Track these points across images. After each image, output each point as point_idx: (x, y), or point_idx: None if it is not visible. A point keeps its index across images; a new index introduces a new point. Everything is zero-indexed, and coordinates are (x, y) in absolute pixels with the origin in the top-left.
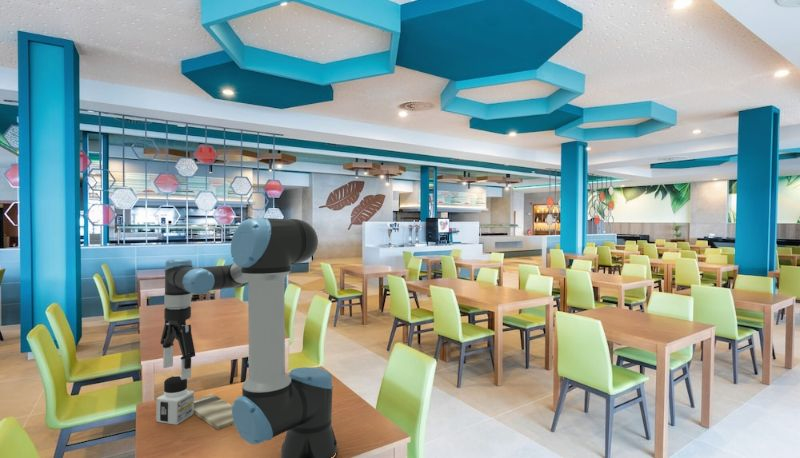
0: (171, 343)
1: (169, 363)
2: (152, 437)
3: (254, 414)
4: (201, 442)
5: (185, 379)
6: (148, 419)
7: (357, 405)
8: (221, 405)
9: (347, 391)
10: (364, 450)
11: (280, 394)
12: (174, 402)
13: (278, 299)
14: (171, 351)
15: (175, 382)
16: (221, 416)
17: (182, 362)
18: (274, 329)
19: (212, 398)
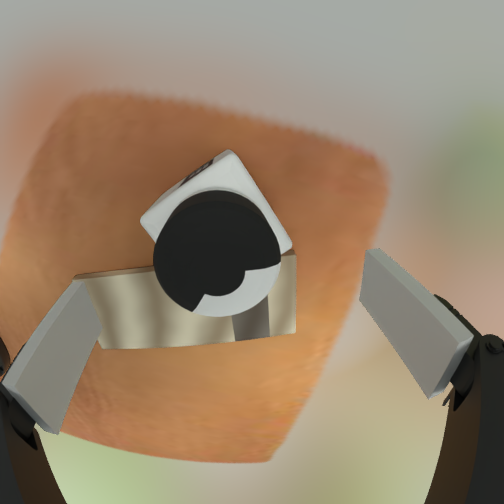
0: (451, 415)
1: (372, 294)
2: (127, 120)
3: None
4: (38, 225)
5: (181, 305)
6: (269, 135)
7: (92, 438)
8: (191, 329)
9: (145, 454)
10: None
11: None
12: (149, 209)
13: None
14: (415, 363)
15: (160, 252)
16: (119, 306)
17: (16, 361)
18: None
19: (259, 325)
